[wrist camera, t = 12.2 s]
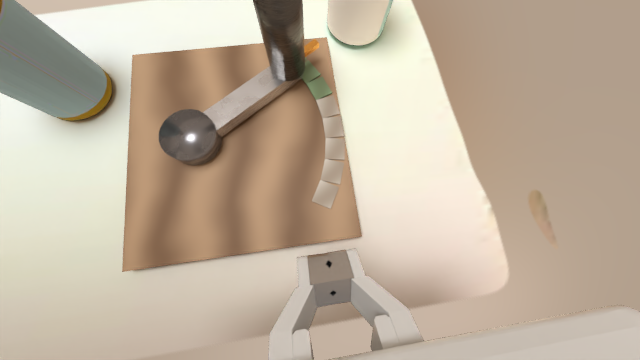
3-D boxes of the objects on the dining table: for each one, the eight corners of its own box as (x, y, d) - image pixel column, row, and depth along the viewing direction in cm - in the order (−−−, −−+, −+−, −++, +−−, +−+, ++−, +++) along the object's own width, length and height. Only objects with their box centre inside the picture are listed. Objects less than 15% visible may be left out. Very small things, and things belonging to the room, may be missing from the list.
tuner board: (132, 269, 22) (120, 272, 20) (140, 62, 27) (131, 53, 25) (359, 236, 23) (362, 236, 22) (326, 45, 28) (326, 36, 27)
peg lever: (190, 175, 22) (65, 117, 11) (161, 139, 23) (18, 50, 12) (331, 70, 25) (346, -57, 14) (302, 41, 26) (294, -102, 15)
